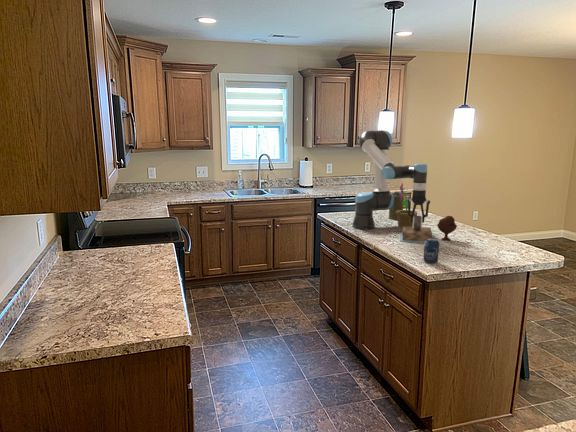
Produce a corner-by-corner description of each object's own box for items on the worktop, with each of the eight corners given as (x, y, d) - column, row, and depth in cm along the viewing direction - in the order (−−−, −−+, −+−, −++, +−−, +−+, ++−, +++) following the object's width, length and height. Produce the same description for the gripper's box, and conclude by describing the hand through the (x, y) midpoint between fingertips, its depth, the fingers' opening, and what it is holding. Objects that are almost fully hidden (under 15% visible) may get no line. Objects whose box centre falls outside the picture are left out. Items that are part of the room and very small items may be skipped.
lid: (402, 239, 258) (403, 218, 256) (402, 233, 274) (403, 213, 271) (431, 241, 254) (433, 219, 252) (429, 234, 270) (431, 214, 267)
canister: (391, 216, 329) (392, 190, 325) (404, 218, 323) (406, 191, 319) (385, 218, 320) (387, 192, 316) (399, 220, 314) (400, 193, 310)
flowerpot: (397, 223, 304) (399, 181, 298) (418, 225, 298) (420, 182, 292) (392, 227, 292) (394, 183, 286) (414, 229, 286) (417, 184, 280)
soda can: (424, 263, 215) (425, 240, 212) (422, 259, 221) (424, 237, 219) (438, 264, 213) (440, 241, 211) (436, 260, 220) (438, 237, 218)
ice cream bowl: (452, 237, 265) (454, 213, 262) (457, 242, 254) (459, 217, 251) (434, 237, 266) (436, 213, 263) (439, 242, 255) (440, 217, 252)
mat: (399, 241, 257) (399, 240, 257) (399, 233, 276) (399, 232, 276) (435, 243, 252) (435, 242, 252) (432, 235, 271) (432, 234, 271)
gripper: (404, 190, 257) (402, 228, 261) (434, 191, 253) (432, 229, 257) (404, 188, 264) (402, 225, 269) (433, 189, 260) (431, 227, 264)
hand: (417, 227), depth 263 cm, fingers closed on lid, 4 cm apart
